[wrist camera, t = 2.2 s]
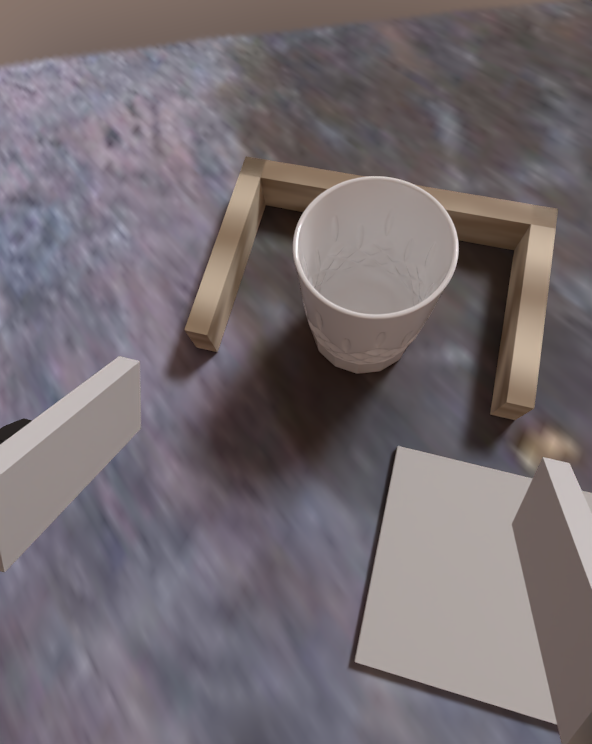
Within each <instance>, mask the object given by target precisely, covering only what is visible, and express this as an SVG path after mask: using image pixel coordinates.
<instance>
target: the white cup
mask: <svg viewBox="0 0 592 744" xmlns="http://www.w3.org/2000/svg"><path fill="white" fill-rule="evenodd" d="M458 253H459V244H458V236H457V232H456V229H455V226H454V223H453V221H452V219H451V217H450V216H449V214H448V212H447V211H446V210H445V208H444V207H443V206H442V205H441V204H440V203H439V201H437V200H436V199H435V198H434V197H433V196H432V195H431V194H429V193H428V192H426V191H425V190H423V189H422V188H420V187H418V186H416V185H414V184H411V183H409V182H406V181H403V180H400V179H396V178H390V177H382V176H368V177H360V178H355V179H350V180H347V181H344V182H341V183H339V184H337V185H334V186H332V187H331V188H329V189H327V190H326V191H324V192H323V193H321V194H320V195H319V196H317V197H316V198H315V199H314V200H313V201H312V202H311V203H310V204H309V205H308V207H307V208H306V209H305V211H304V212H303V214H302V215H301V217H300V219H299V221H298V224H297V226H296V229H295V233H294V238H293V257H294V262H295V266H296V271H297V275H298V280H299V285H300V290H301V295H302V300H303V304H304V308H305V312H306V316H307V319H308V323H309V326H310V328H311V331H312V334H313V337H314V340H315V342H316V345H317V348H318V350H319V352H320V353H321V354H322V355H323V356H324V357H326V358H327V359H328V360H329V361H330V362H331V363H332V364H333V365H334V366H335V367H338V368H341V369H344V370H347V371H350V372H353V373H356V374H359V373H369V372H378V371H382V370H383V369H385V368H387V367H388V366H390V365H392V364H393V363H395V362H397V361H398V360H400V359H401V357H402V355H403V354H404V352H405V351H406V349H407V347H408V346H409V344H410V343H411V342H412V341H413V340H414V339H415V338H416V336H417V335H418V333H419V332H420V330H421V329H422V327H423V325H424V324H425V322H426V321H427V319H428V318H429V316H430V314H431V312H432V311H433V309H434V307H435V305H436V304H437V302H438V300H439V298H440V297H441V295H442V293H443V291H444V290H445V288H446V286H447V285H448V283H449V281H450V279H451V278H452V276H453V273H454V271H455V268H456V265H457V261H458Z"/></svg>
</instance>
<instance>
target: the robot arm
mask: <svg viewBox="0 0 592 744" xmlns="http://www.w3.org/2000/svg"><path fill="white" fill-rule="evenodd" d="M140 429H141V398H140V361H137V360H132V359H128V358H124V357H120V356H119V357H118V358H116V359H115V360H114V361H112V362H111V363H109V364H108V365H107V366H105V367H104V368H103V369H101V370H100V371H99V372H97V373H96V374H95V375H93V376H92V377H91V378H89V379H88V380H87V381H85V382H84V383H83V384H81V385H80V386H78V387H77V388H76V389H74V390H73V391H72V392H70V393H69V394H68V395H66V396H65V397H64V398H62V399H61V400H60V401H58V402H57V403H56V404H54V405H53V406H52V407H50V408H49V409H47V410H46V411H45V412H43V413H42V414H41V415H39V416H38V417H37V418H35V419H34V420H33V421H31V420H28V419H21V420H19V421H16V422H13V423H11V424H8V425H6V426H4V427H2V428H1V429H0V571H2V572H6V571H7V569H8V568H9V567H10V566H11V565H12V564H13V563H14V562H15V561H16V560H17V559H18V558H19V557H20V556H21V555H22V554H23V553H24V551H25V550H26V549H27V548H28V547H29V546H30V545H31V544H32V543H33V542H34V541H35V540H36V539H37V538H38V537H39V536H40V535H41V534H42V532H43V531H44V530H45V529H46V528H47V527H48V526H49V525H50V524H51V523H52V522H53V521H54V520H55V519H56V518H57V517H58V516H59V515H60V513H61V512H62V511H63V510H64V509H65V508H66V507H67V506H68V505H69V504H70V503H71V502H72V501H73V500H74V499H75V498H76V497H77V495H78V494H79V493H80V492H81V491H82V490H83V489H84V488H85V487H86V486H87V485H88V484H89V483H90V482H91V481H92V480H93V479H94V478H95V476H96V475H97V474H98V473H99V472H100V471H101V470H102V469H103V468H104V467H105V466H106V465H107V464H108V463H109V462H110V461H111V460H112V459H113V457H114V456H115V455H116V454H117V453H118V452H119V451H120V450H121V449H122V448H123V447H124V446H125V445H126V444H127V443H128V442H129V441H130V440H131V438H132V437H133V436H134V435H135V434H136V433H137V432H138V431H139V430H140ZM512 528H513V532H514V537H515V541H516V546H517V550H518V554H519V559H520V563H521V567H522V572H523V576H524V581H525V585H526V589H527V594H528V598H529V603H530V607H531V611H532V616H533V620H534V625H535V629H536V633H537V638H538V642H539V647H540V651H541V655H542V660H543V664H544V669H545V673H546V677H547V682H548V686H549V690H550V695H551V699H552V704H553V708H554V712H555V717H556V721H557V726H558V730H559V734H560V739H561V743H562V744H592V513H591V511H590V508H589V506H588V504H587V502H586V499H585V497H584V495H583V493H582V490H581V488H580V486H579V484H578V481H577V479H576V477H575V475H574V472H573V470H572V468H571V466H570V463H566V462H562V461H557V460H553V459H549V458H545V457H543V458H542V460H541V462H540V464H539V466H538V469H537V471H536V473H535V475H534V477H533V479H532V481H531V484H530V486H529V488H528V490H527V492H526V494H525V497H524V499H523V501H522V503H521V505H520V507H519V509H518V512H517V514H516V516H515V518H514V520H513V522H512Z"/></svg>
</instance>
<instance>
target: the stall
mask: <svg viewBox="0 0 592 744" xmlns="http://www.w3.org/2000/svg"><path fill="white" fill-rule="evenodd" d="M360 177H365V176H359V175H353V174H347V173H341V172H335V171H329V170H323V169H317V168H311V167H305V166H299V165H293V164H287V163H281V162H275V161H269V160H263V159H257V158H251V157H245V160H244V163H243V166H242V169H241V171H240V174H239V177H238V180H237V183H236V186H235V188H234V191H233V194H232V197H231V200H230V202H229V205H228V208H227V211H226V214H225V217H224V219H223V222H222V225H221V228H220V231H219V233H218V236H217V239H216V242H215V245H214V248H213V250H212V253H211V256H210V259H209V262H208V265H207V267H206V270H205V273H204V276H203V279H202V281H201V284H200V287H199V290H198V293H197V296H196V298H195V301H194V304H193V307H192V310H191V312H190V315H189V318H188V321H187V324H186V327H185V329H184V330H185V332H186V333H187V335H188V336H189V337H190V339H191V340H192V342H193V343H194V344H195V346H196V347H197V348H201V349H206V350H210V351H214V352H218V349H219V346H220V343H221V340H222V337H223V334H224V331H225V328H226V325H227V322H228V319H229V316H230V313H231V310H232V307H233V304H234V301H235V298H236V295H237V292H238V288H239V285H240V282H241V279H242V276H243V273H244V270H245V267H246V264H247V261H248V258H249V255H250V252H251V249H252V246H253V243H254V240H255V237H256V234H257V231H258V227H259V224H260V221H261V218H262V215H263V212H264V209H265V206H266V205H267V206H273V207H278V208H284V209H289V210H295V211H300V212H304V211H305V209H306V208H307V207H308V205H309V204H310V203H311V202H312V201H313V200H314V199H315V198H316V197H317V196H319V195H320V194H321V193H323V192H324V191H326V190H327V189H329V188H331V187H332V186H334V185H337V184H339V183H341V182H344V181H347V180H350V179H355V178H360ZM416 186H418V185H416ZM418 187H420V188H422V189H423V190H425V191H426V192H428V193H429V194H431V195H432V196H433V197H434V198H435V199H436V200H437V201H439V203H440V204H441V205H442V206H443V207H444V208H445V210H446V211H447V212H448V214H449V216H450V217H451V219H452V221H453V223H454V226H455V229H456V232H457V236H458V240H460V241H465V242H471V243H477V244H482V245H488V246H493V247H499V248H504V249H510V250H514V254H513V261H512V268H511V275H510V282H509V289H508V295H507V302H506V309H505V316H504V323H503V330H502V337H501V343H500V350H499V357H498V364H497V371H496V378H495V384H494V391H493V398H492V405H491V412H490V415H495V416H499V417H503V418H508V419H512V420H516V419H518V418H519V417H521V416H523V415H524V414H526V413H527V412H529V411H531V410H532V409H534V405H535V397H536V389H537V380H538V372H539V364H540V355H541V347H542V338H543V330H544V322H545V313H546V305H547V296H548V288H549V280H550V271H551V263H552V254H553V246H554V238H555V229H556V221H557V213H558V209H555V208H549V207H543V206H537V205H531V204H525V203H519V202H513V201H507V200H501V199H496V198H490V197H484V196H478V195H472V194H466V193H460V192H454V191H448V190H442V189H436V188H430V187H424V186H418Z"/></svg>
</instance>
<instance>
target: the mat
mask: <svg viewBox="0 0 592 744" xmlns="http://www.w3.org/2000/svg"><path fill="white" fill-rule="evenodd" d="M531 481H532V478H527V477H523V476H519V475H515V474H511V473H507V472H503V471H499V470H495V469H491V468H486V467H482V466H478V465H474V464H470V463H466V462H462V461H458V460H454V459H449V458H445V457H441V456H437V455H433V454H429V453H425V452H421V451H417V450H413V449H408V448H404V447H400V446H398V447H397V449H396V454H395V459H394V464H393V469H392V474H391V479H390V484H389V489H388V494H387V499H386V504H385V509H384V514H383V519H382V524H381V529H380V534H379V539H378V544H377V549H376V554H375V559H374V564H373V569H372V574H371V579H370V584H369V589H368V594H367V599H366V604H365V609H364V614H363V619H362V624H361V629H360V634H359V639H358V644H357V649H356V654H355V659H354V660H355V662H356V663H359V664H363V665H366V666H369V667H372V668H376V669H379V670H382V671H385V672H389V673H392V674H395V675H398V676H401V677H405V678H408V679H411V680H414V681H418V682H421V683H424V684H427V685H431V686H434V687H437V688H440V689H444V690H447V691H450V692H453V693H456V694H460V695H463V696H466V697H469V698H473V699H476V700H479V701H482V702H486V703H489V704H492V705H495V706H498V707H502V708H505V709H508V710H511V711H515V712H518V713H521V714H524V715H528V716H531V717H534V718H537V719H541V720H544V721H547V722H550V723H553V724H557V721H556V717H555V712H554V708H553V704H552V699H551V695H550V690H549V686H548V682H547V677H546V673H545V669H544V664H543V660H542V655H541V651H540V647H539V642H538V638H537V633H536V629H535V625H534V620H533V616H532V611H531V607H530V603H529V598H528V594H527V589H526V585H525V581H524V576H523V572H522V567H521V563H520V559H519V554H518V550H517V546H516V541H515V537H514V532H513V528H512V522H513V520H514V518H515V516H516V514H517V512H518V509H519V507H520V505H521V503H522V501H523V499H524V497H525V494H526V492H527V490H528V488H529V486H530V484H531ZM582 493H583V495H584V497H585V499H586V502H587V504H588V506H589V508H590V511H591V513H592V493H589V492H585V491H582Z"/></svg>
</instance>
